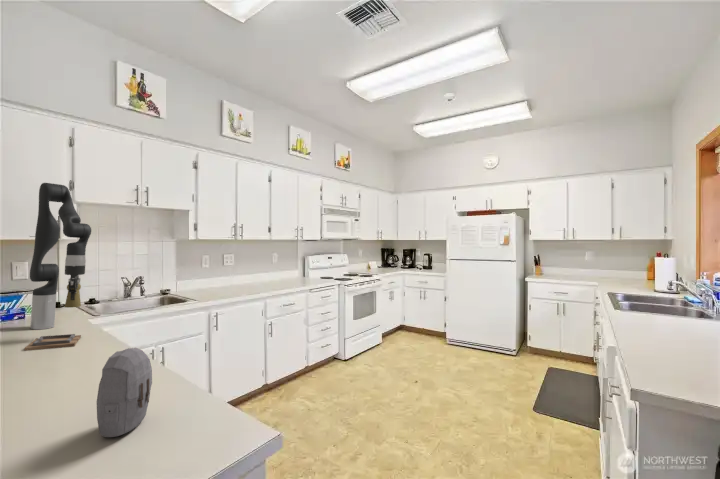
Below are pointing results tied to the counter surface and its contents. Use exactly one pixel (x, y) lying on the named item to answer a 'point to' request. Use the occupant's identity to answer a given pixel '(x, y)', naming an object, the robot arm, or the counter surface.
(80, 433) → the counter surface
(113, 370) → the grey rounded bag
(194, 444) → the counter surface
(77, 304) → the cork
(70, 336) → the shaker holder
